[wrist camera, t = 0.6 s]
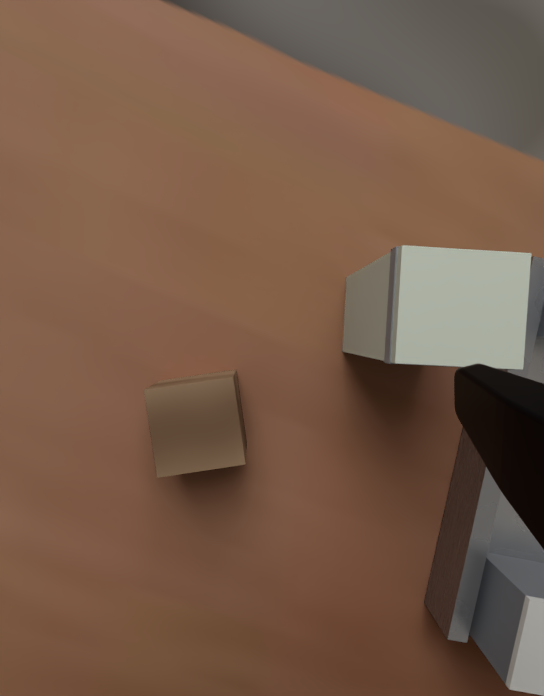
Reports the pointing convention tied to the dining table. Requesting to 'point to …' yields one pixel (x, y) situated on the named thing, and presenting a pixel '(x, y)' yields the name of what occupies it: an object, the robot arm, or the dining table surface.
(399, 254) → the block
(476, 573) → the grey base plate
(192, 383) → the walnut block
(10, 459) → the dining table surface
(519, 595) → the block
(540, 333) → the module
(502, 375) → the robot arm
